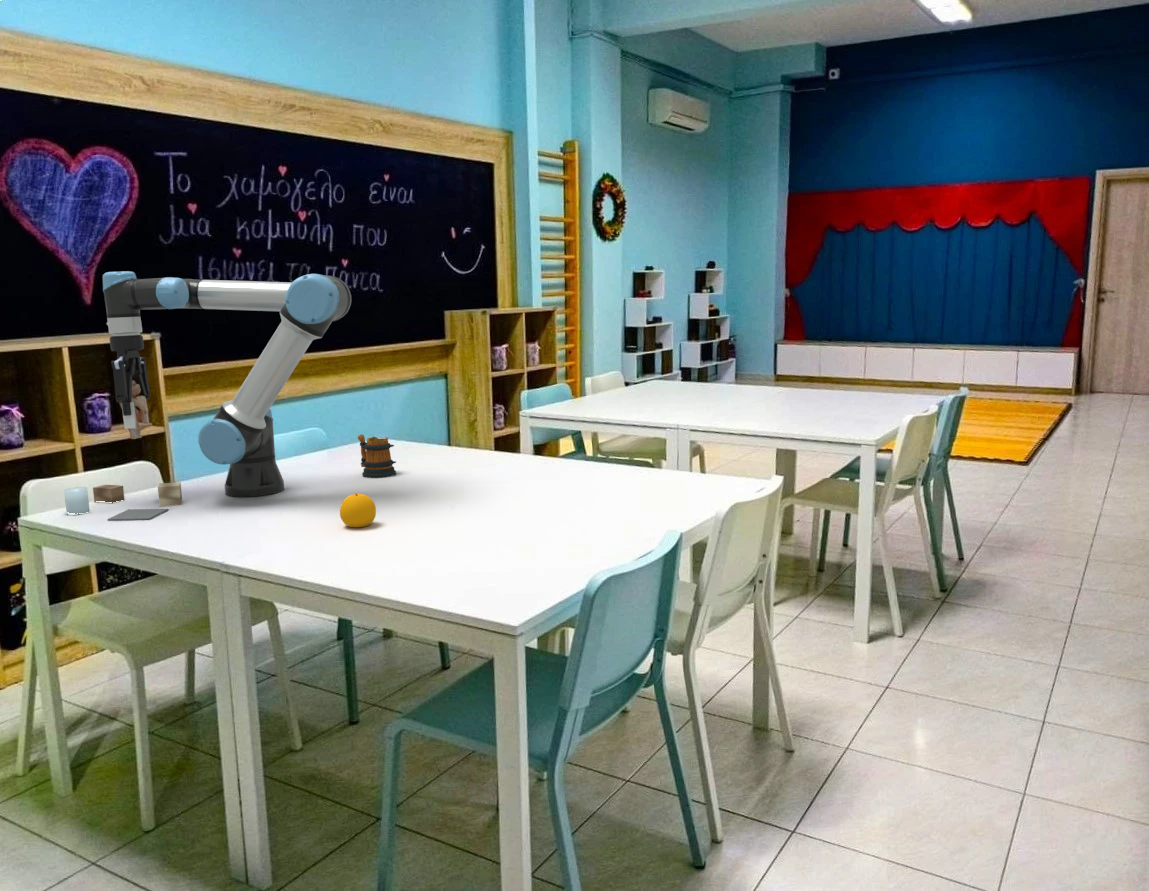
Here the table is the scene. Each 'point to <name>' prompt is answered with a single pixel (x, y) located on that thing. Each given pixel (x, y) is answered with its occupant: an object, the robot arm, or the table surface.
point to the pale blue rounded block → (77, 500)
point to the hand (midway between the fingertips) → (137, 426)
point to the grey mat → (137, 514)
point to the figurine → (138, 411)
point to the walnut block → (108, 493)
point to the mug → (376, 457)
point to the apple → (357, 510)
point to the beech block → (170, 494)
